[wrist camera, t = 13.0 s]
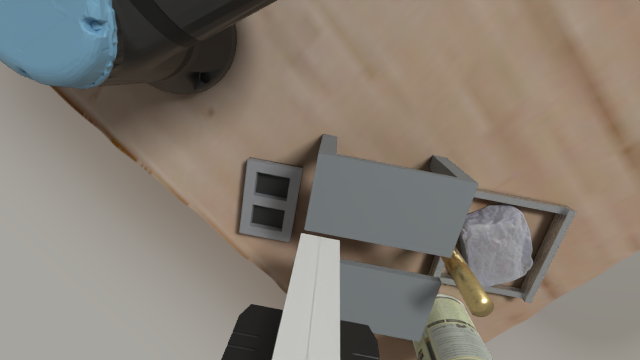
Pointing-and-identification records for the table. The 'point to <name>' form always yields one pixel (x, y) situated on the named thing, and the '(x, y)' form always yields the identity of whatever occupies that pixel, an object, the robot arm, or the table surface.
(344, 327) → the robot arm
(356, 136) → the table surface
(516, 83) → the table surface
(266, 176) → the pit board
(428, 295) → the gray split-top stand
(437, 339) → the coffee can
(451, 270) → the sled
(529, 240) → the stone block
